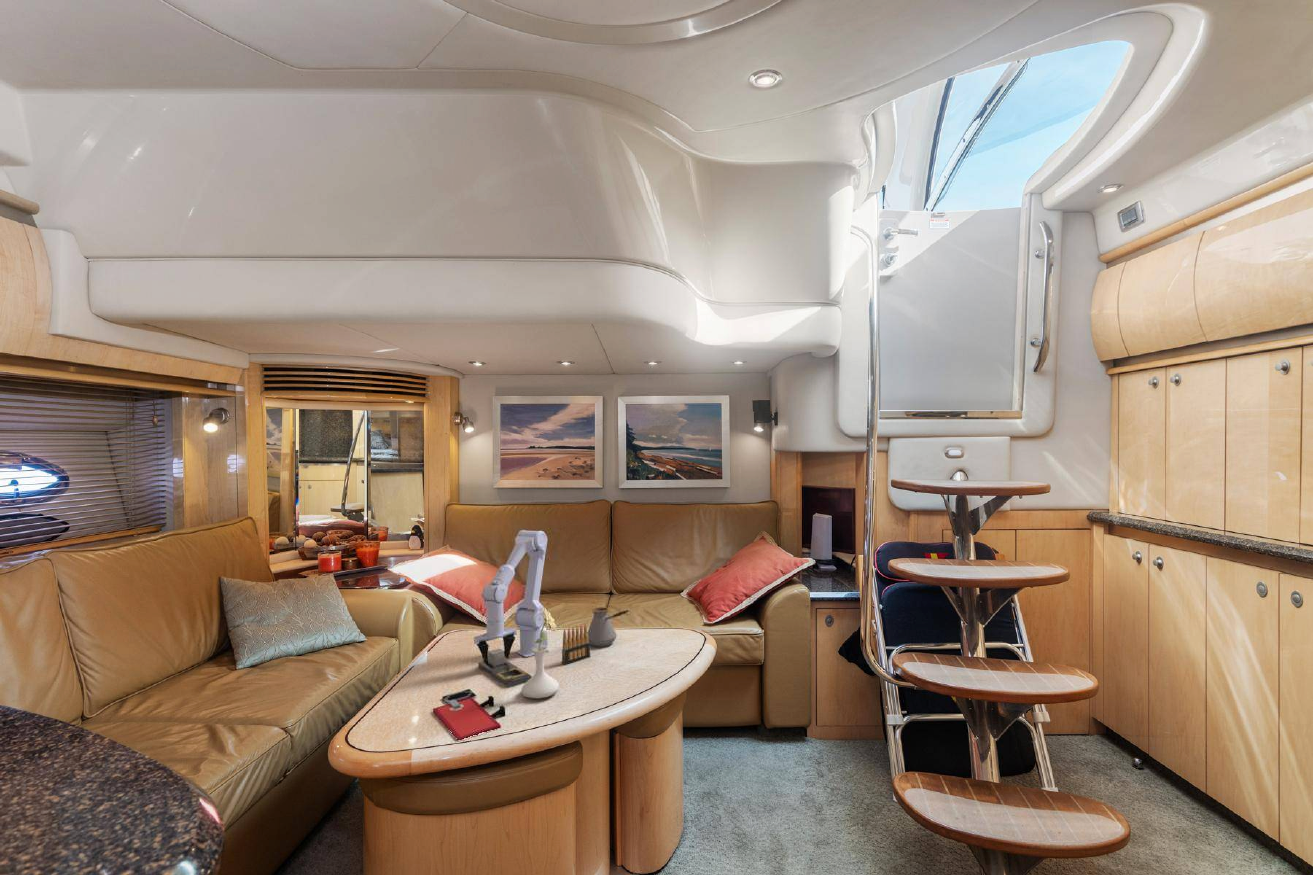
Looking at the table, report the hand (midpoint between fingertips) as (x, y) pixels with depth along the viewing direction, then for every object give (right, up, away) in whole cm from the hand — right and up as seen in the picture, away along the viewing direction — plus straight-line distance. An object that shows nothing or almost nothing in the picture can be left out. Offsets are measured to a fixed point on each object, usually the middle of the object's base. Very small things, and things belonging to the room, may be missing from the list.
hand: (496, 660), depth 203 cm
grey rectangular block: (0, -3, 0) cm, 3 cm away
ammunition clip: (+26, -2, +5) cm, 27 cm away
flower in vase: (+20, -2, -22) cm, 29 cm away
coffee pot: (+37, -2, +19) cm, 42 cm away
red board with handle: (+1, -3, -34) cm, 34 cm away
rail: (+4, -3, -5) cm, 7 cm away
